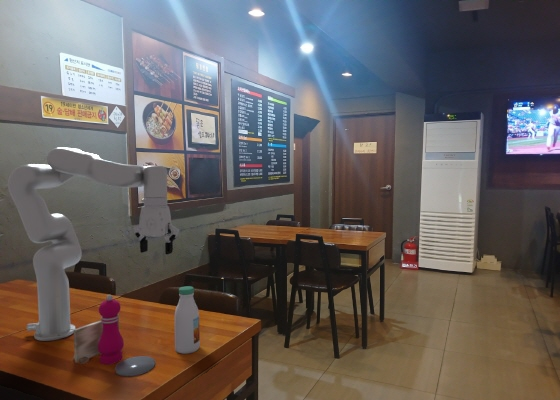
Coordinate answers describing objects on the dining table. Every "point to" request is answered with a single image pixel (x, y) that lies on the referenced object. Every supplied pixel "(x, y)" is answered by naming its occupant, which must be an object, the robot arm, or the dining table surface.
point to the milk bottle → (187, 322)
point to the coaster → (135, 366)
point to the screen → (87, 341)
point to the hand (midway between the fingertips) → (156, 252)
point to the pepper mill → (110, 332)
